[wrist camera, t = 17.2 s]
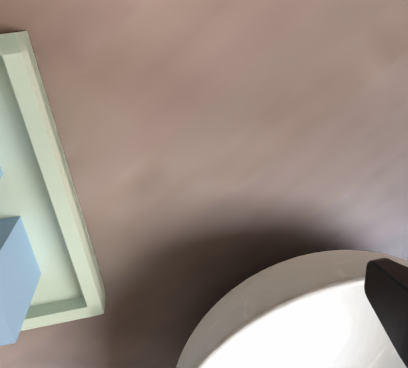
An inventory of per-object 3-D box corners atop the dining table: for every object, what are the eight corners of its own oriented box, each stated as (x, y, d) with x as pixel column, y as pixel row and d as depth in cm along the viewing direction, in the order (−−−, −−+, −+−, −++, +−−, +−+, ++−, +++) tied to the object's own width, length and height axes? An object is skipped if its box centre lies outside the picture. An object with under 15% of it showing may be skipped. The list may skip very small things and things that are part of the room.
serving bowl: (266, 442, 34) (293, 536, 28) (98, 340, 25) (86, 444, 19) (455, 316, 31) (535, 391, 25) (339, 147, 22) (417, 199, 16)
